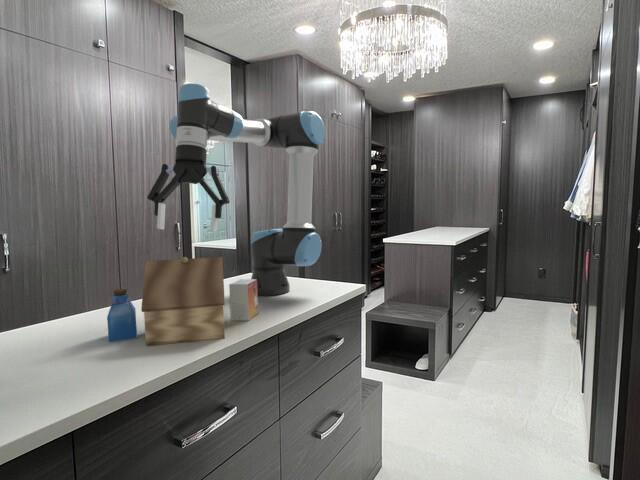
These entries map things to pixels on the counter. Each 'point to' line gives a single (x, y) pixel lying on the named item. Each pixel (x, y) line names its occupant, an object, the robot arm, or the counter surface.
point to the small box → (243, 299)
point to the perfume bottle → (121, 317)
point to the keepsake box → (184, 325)
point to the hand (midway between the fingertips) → (187, 230)
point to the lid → (183, 284)
